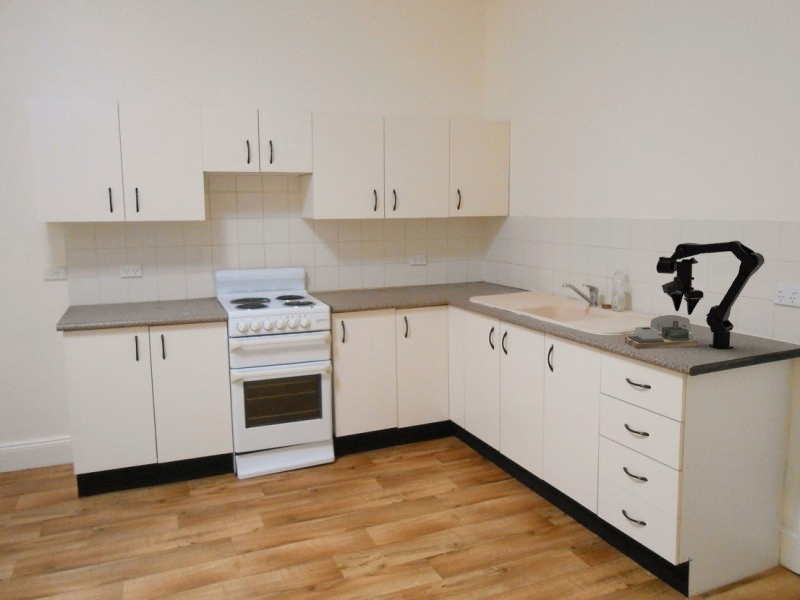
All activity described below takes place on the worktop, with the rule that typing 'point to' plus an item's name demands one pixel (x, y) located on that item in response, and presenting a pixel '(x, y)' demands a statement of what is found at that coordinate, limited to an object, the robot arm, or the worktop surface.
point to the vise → (667, 338)
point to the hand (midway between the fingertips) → (683, 312)
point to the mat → (645, 340)
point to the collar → (646, 333)
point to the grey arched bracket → (671, 323)
